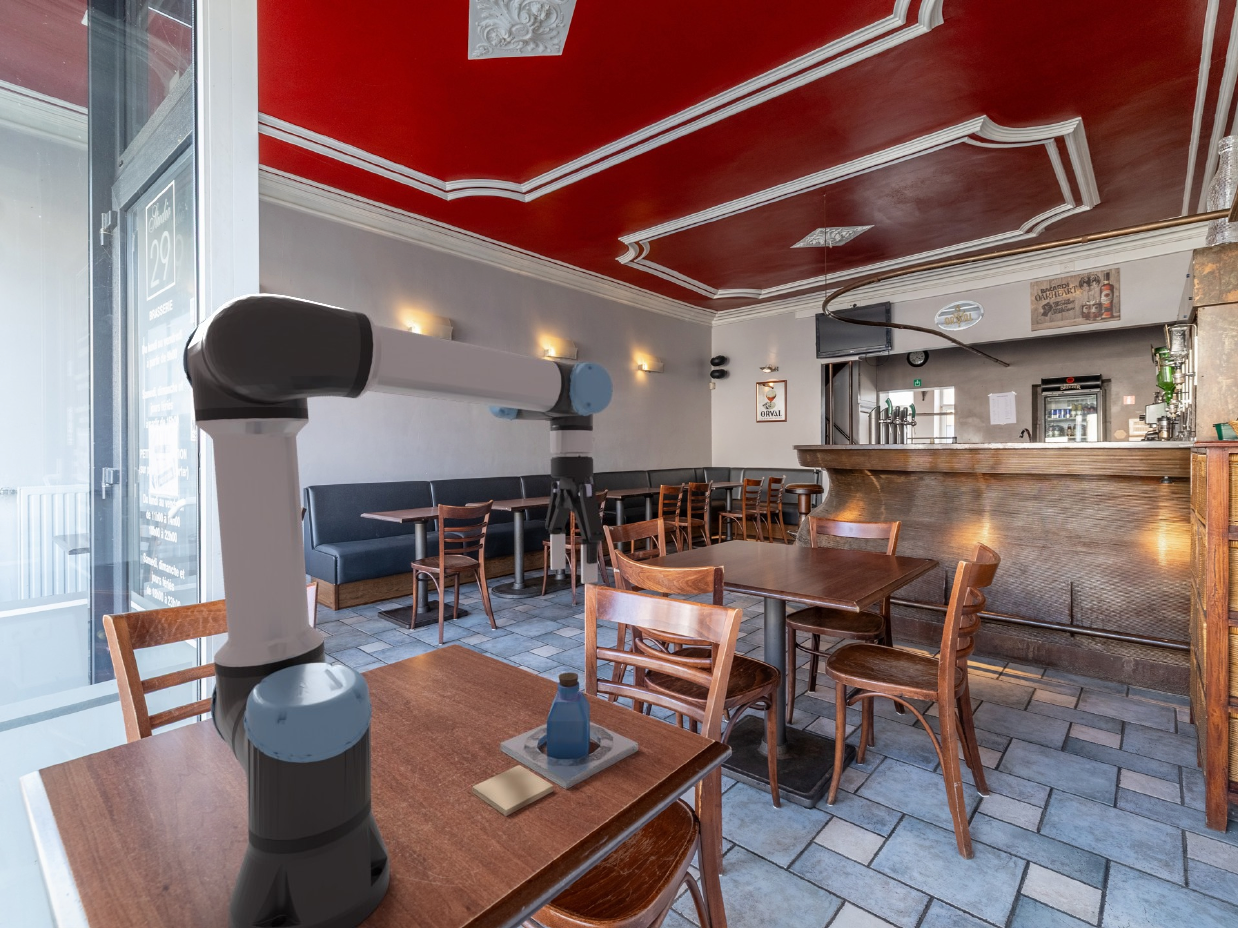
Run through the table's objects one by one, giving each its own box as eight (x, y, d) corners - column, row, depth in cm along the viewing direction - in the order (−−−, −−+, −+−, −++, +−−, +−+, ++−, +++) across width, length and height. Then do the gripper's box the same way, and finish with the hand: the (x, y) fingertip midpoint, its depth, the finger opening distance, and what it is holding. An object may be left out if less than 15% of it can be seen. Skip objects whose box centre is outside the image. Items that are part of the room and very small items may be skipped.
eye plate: (566, 789, 84) (566, 780, 84) (500, 750, 95) (500, 742, 95) (638, 750, 94) (638, 742, 94) (571, 719, 105) (571, 712, 105)
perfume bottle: (587, 760, 91) (586, 683, 91) (547, 760, 92) (546, 683, 91) (589, 741, 98) (589, 668, 97) (552, 741, 98) (551, 668, 97)
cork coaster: (505, 816, 77) (505, 810, 77) (472, 792, 83) (472, 786, 83) (553, 790, 83) (553, 785, 83) (519, 769, 89) (519, 764, 89)
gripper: (624, 455, 96) (625, 586, 96) (563, 455, 118) (564, 562, 118) (582, 455, 92) (583, 591, 92) (527, 455, 114) (528, 565, 114)
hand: (572, 575), depth 105 cm, fingers open, 13 cm apart
